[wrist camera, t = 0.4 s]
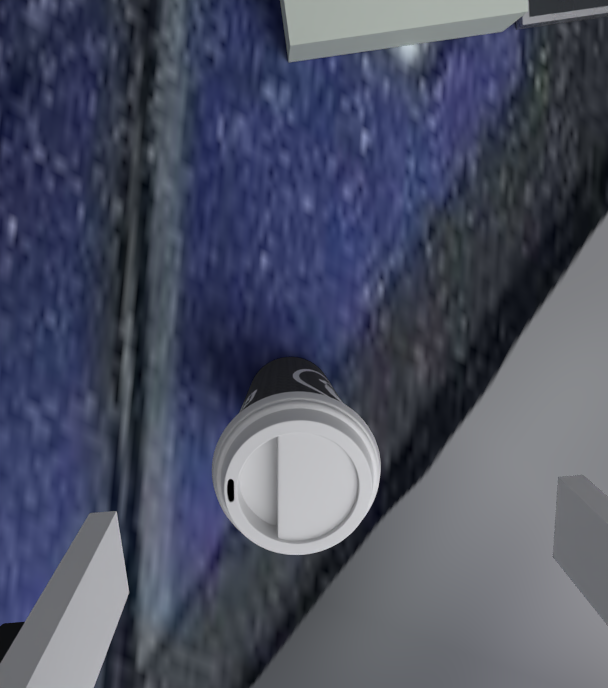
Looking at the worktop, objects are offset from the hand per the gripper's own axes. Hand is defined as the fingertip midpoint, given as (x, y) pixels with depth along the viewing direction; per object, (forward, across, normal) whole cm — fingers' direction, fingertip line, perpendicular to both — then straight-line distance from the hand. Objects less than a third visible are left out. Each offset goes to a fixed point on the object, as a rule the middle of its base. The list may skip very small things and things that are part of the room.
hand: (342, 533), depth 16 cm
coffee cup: (+27, -1, -5) cm, 28 cm away
